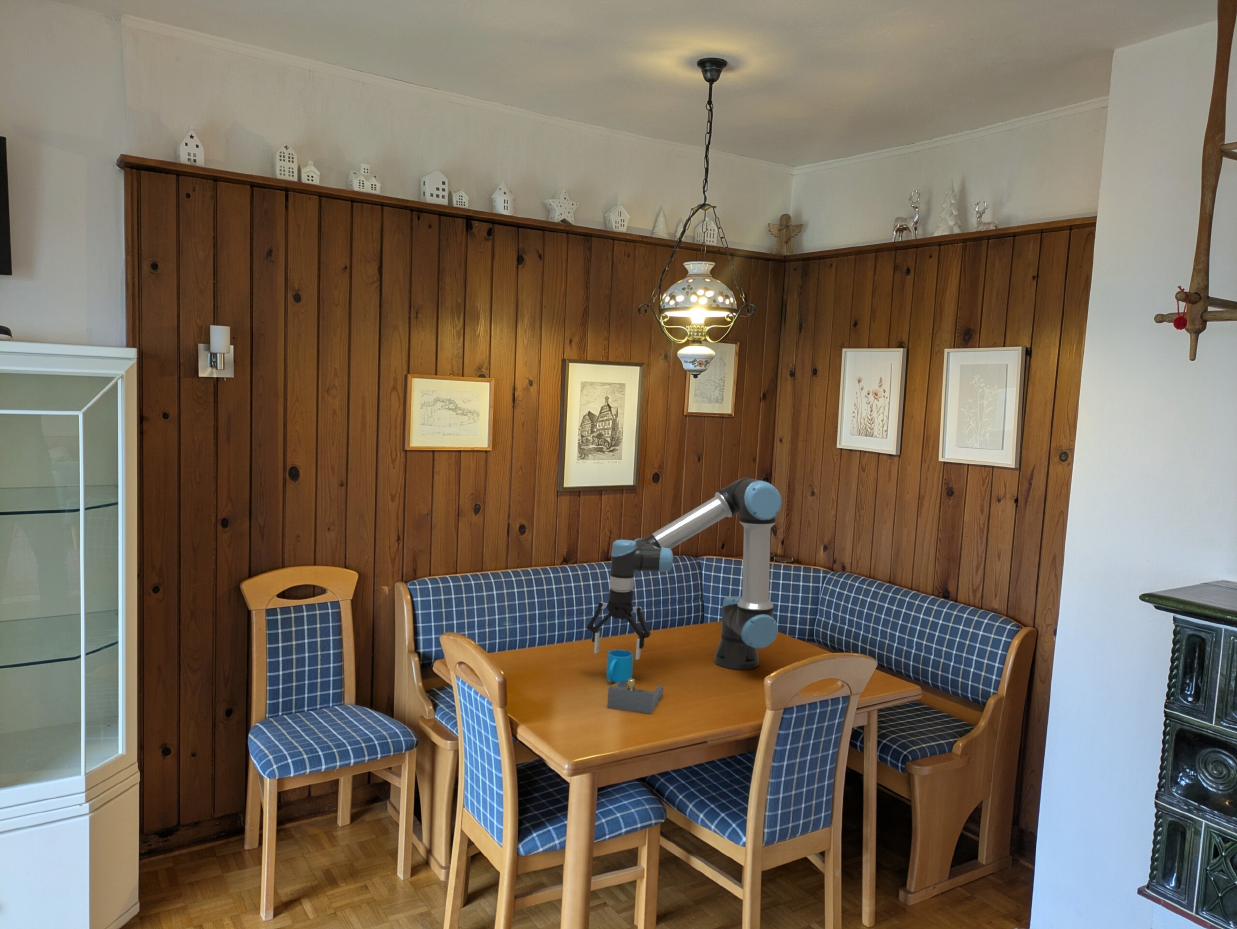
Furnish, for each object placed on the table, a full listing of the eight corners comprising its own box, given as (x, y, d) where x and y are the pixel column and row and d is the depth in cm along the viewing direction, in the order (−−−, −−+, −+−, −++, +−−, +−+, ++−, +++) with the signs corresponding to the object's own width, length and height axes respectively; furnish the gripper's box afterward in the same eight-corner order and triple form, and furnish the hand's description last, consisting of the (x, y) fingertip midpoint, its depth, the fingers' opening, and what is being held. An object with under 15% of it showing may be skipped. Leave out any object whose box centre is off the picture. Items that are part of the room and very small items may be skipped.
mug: (612, 672, 285) (613, 648, 284) (635, 677, 282) (637, 652, 281) (597, 683, 274) (598, 658, 273) (621, 688, 271) (622, 662, 270)
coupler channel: (662, 695, 266) (664, 666, 265) (651, 714, 250) (652, 683, 249) (621, 689, 269) (622, 661, 268) (607, 707, 253) (608, 677, 252)
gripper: (662, 591, 276) (657, 657, 278) (586, 582, 282) (582, 646, 284) (657, 596, 269) (652, 664, 270) (579, 587, 275) (575, 653, 276)
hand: (616, 655), depth 277 cm, fingers open, 13 cm apart
